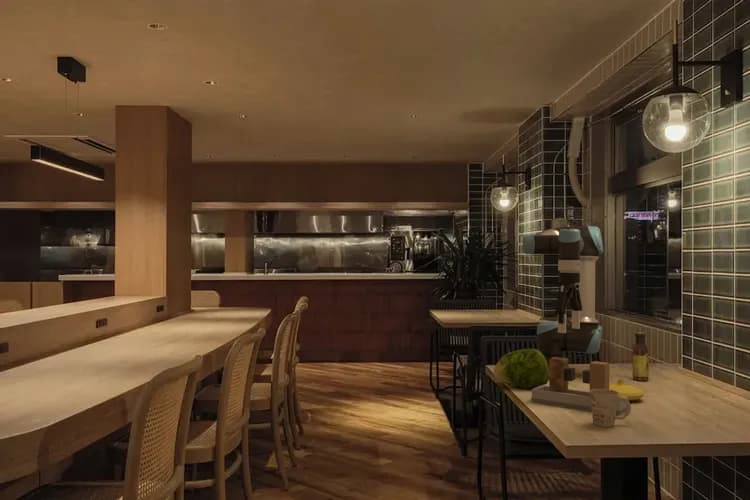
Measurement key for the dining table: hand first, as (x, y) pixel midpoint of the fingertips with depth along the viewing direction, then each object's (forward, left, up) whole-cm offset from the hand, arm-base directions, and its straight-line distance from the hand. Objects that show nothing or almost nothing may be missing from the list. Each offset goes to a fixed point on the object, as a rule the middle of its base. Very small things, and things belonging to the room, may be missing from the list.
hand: (568, 330), depth 230 cm
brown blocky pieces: (+7, -9, -25) cm, 27 cm away
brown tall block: (+1, -9, -23) cm, 25 cm away
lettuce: (-22, +9, -25) cm, 34 cm away
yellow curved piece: (+15, +12, -25) cm, 31 cm away
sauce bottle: (+11, +55, -25) cm, 61 cm away
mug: (+23, -27, -25) cm, 43 cm away
